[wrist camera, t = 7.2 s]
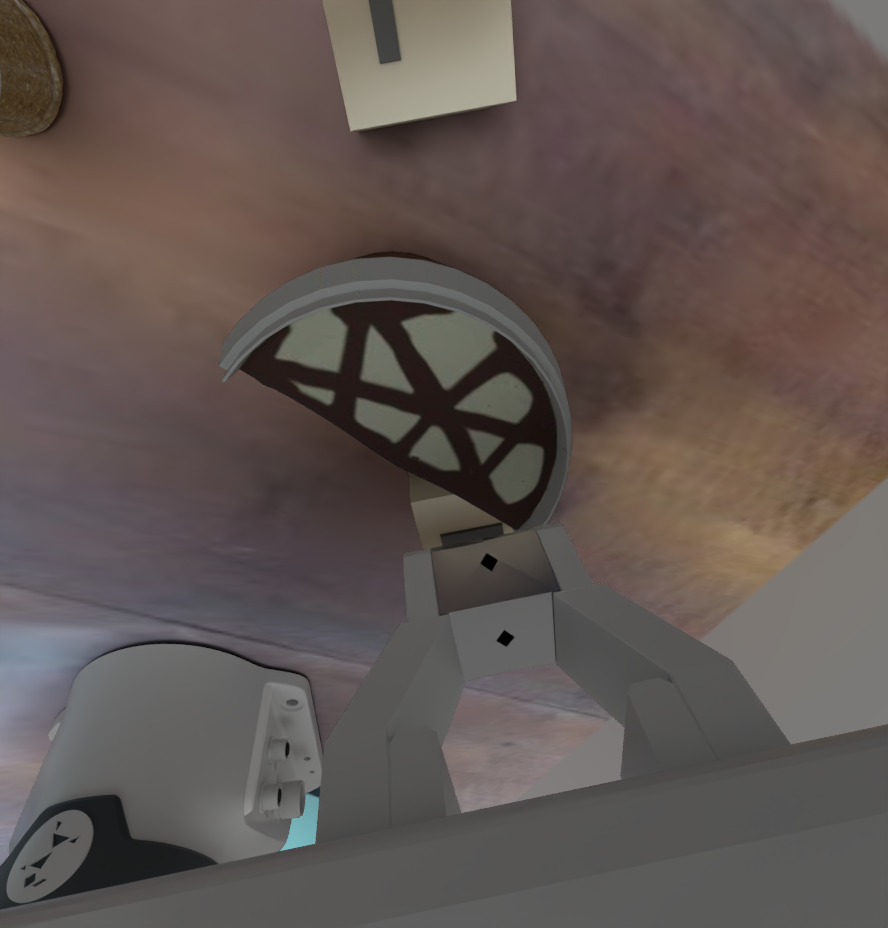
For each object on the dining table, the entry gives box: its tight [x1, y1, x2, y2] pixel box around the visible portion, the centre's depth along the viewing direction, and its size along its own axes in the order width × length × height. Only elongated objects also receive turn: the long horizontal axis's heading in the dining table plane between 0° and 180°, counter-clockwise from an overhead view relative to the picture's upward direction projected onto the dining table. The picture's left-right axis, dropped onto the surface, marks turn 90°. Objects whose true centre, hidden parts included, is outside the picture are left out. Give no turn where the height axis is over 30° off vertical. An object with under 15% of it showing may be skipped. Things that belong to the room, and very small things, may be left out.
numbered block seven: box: [322, 0, 516, 132], centre depth 15 cm, size 5×5×5 cm
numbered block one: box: [408, 472, 514, 550], centre depth 26 cm, size 5×5×5 cm
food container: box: [219, 251, 572, 532], centre depth 18 cm, size 12×6×10 cm, turn 52°
